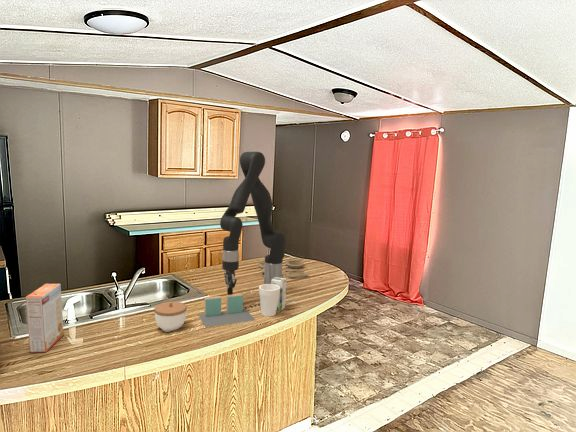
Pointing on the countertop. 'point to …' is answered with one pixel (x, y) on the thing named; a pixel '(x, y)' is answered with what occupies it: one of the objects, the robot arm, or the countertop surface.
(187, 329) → the countertop surface
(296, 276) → the tableware set
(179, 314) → the lidded bowl
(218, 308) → the tile
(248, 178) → the robot arm
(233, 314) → the mat
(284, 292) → the syrup box
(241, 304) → the tile
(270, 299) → the foam cup
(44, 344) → the cracker box
